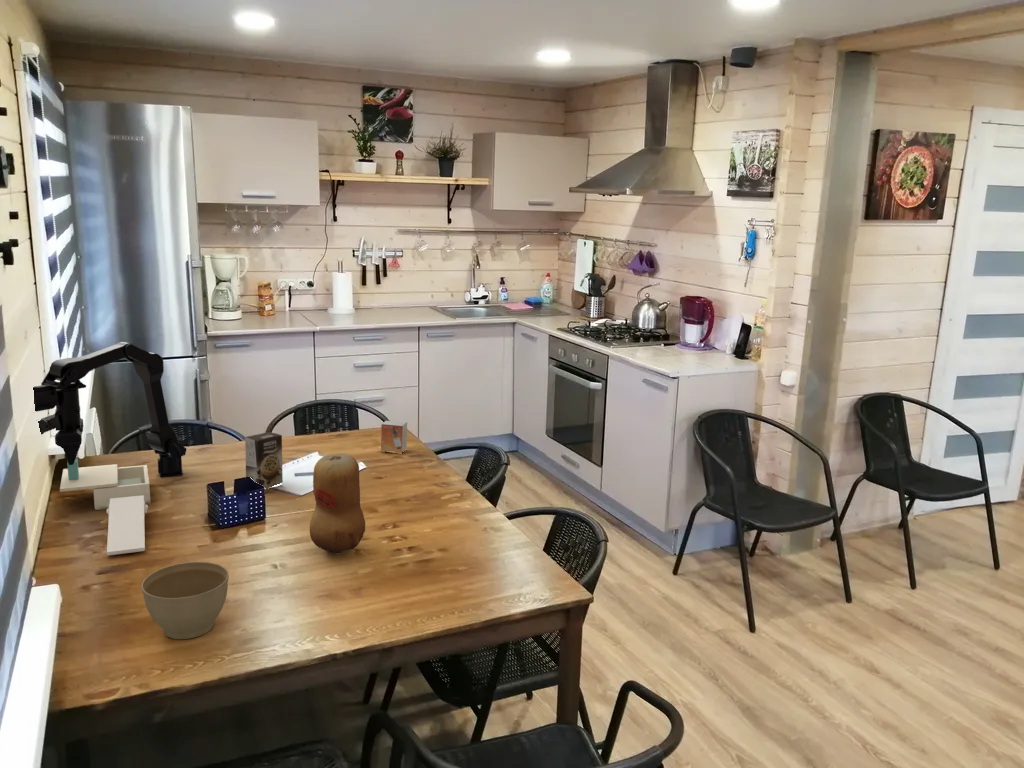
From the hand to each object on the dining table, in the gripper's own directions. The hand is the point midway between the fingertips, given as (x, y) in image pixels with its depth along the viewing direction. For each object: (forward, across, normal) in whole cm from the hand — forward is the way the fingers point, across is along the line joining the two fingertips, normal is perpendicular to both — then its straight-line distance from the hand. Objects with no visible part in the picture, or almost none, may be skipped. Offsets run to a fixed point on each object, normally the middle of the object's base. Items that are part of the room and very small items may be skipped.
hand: (71, 459), depth 224 cm
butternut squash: (+12, +59, +60) cm, 85 cm away
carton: (+12, 0, +12) cm, 17 cm away
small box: (+12, -17, +99) cm, 101 cm away
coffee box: (+12, +5, +51) cm, 53 cm away
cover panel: (+6, 0, +4) cm, 7 cm away
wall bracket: (+13, +30, +13) cm, 35 cm away
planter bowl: (+13, +85, +23) cm, 89 cm away
